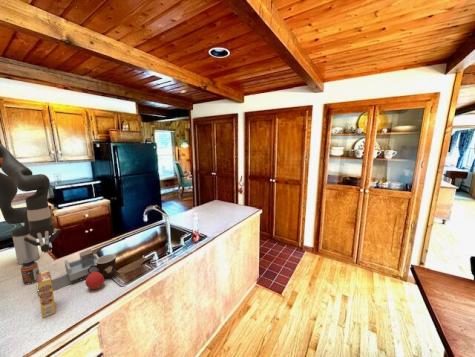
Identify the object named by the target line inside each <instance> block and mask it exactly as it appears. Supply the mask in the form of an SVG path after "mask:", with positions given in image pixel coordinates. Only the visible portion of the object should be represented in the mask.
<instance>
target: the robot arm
mask: <svg viewBox="0 0 475 357" xmlns="http://www.w3.org/2000/svg"><path fill="white" fill-rule="evenodd" d="M0 159H2V161H1V163H0V164H1V165H0V169H1V171H2V172H3V173H2V172H0V211H1V215H2V217H3V219H4V221H5V222H6V224H8V225H18V224H23V226H20V227H17V228H16V229H14V230H13V231H12V232H11V234H12V235H11V236H12V241H13V246H14V250H15V251H14V252H15V257H16V260H17V264H18V265H23V261H25V260H28V259H34V262H36V261H37V260H38V259H39V258H40V251H41V252H42V253H48V252H49V251H50V244H51V243H53V242H54V241H55V239H56V238H57V237H58V236H59V234H60V233H61V229H60V228H56V227H55V226H53V221H52V215H51V214H52V213H51V209H50V206H49V202H48V195H49V190H50V187H51V186H50V185H51V181H50V179H49V177H48V175H46V174H44V173H38V174H37V173H36V174H33V171H32V170H31V169H30V168H28V167H27V166H26V165H24V164H23V163H21V161H19V159H17V157H15V156H14V155H13V154H12V153H11V152H10V151H9V150H8V149H7V148H6V147H5V146H4V145H3V143H1V142H0ZM18 191H22V192H25V193H27V192H33V191H35V192H34V193H33V194H32V195H29V196H27V197H26V198H25V206H23V207H13V206H12V202H13V200H14V198H16V195H17V193H18ZM52 233H53V234H52ZM50 236H51V237H50ZM49 237H50V238H49ZM43 239H44V240H43ZM39 247H40V251H39Z"/></svg>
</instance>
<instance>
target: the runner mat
mask: <svg viewBox="0 0 475 357" xmlns="http://www.w3.org/2000/svg"><path fill="white" fill-rule="evenodd" d="M95 272H97V271H95ZM88 275H89V274H88ZM88 275H85V276H83V277H80V278H78V280H77V281H76V282H77V283H78V282H79V281H82V280H86V278H87V276H88ZM51 280H52V287H53V292H55V291H57V290H59V289H62V288H64V287H67V286H70V285H72V284H74V283H76V282H74V281H73V280H72V281H70V279H69V276H68V274H67V273H66V274H64V275H62V276H59V277H57V278H54V279H51ZM36 291H37V290H36ZM37 297H38V298H39V291H37Z"/></svg>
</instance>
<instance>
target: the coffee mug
mask: <svg viewBox="0 0 475 357" xmlns="http://www.w3.org/2000/svg"><path fill="white" fill-rule="evenodd" d="M116 260H117V256H116V254H112V253H110V254H105V255H101V256H99V258H98V259H97V260H96V263H97V265H93V266H91V267H97V268H98V270H99V273H101V274H103V273H104V274H103V277H104V281H107V280H110V279H112V278H113V277H115V276H116V265H117V263H116ZM91 267H89V268H88V272H89V269H90V268H91ZM89 273H90V274H91V272H89Z"/></svg>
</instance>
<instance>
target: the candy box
mask: <svg viewBox="0 0 475 357" xmlns="http://www.w3.org/2000/svg"><path fill="white" fill-rule="evenodd" d="M52 280H53V279H52V277H51V271H50V269H49V270H45V271H42V272H39V274H37V281H36V282H37V285H38V290H39V297H38V298H39V304H40V305H39V306H40V310H41V318H42V319H44V318H46V317H48V316H50V315H53V314H55V313H56V304H55V296H54V291H53V287H52Z"/></svg>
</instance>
